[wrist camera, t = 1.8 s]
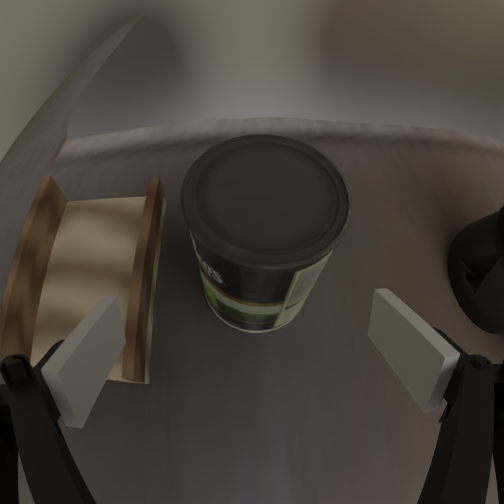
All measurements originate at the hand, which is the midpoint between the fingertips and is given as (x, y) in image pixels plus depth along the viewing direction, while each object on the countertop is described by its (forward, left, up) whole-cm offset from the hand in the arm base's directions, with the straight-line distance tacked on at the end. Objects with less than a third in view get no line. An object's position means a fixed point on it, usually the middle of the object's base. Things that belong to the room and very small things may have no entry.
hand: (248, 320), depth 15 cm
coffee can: (+4, -7, -14) cm, 16 cm away
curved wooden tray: (+17, +4, -13) cm, 22 cm away
